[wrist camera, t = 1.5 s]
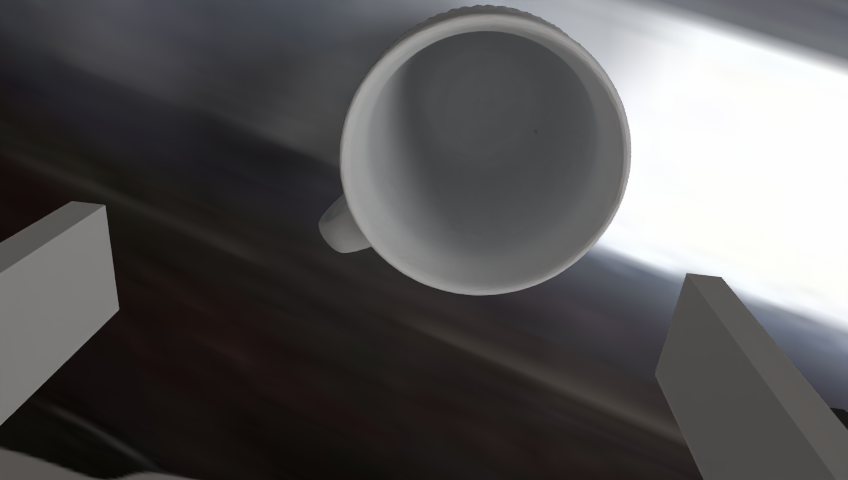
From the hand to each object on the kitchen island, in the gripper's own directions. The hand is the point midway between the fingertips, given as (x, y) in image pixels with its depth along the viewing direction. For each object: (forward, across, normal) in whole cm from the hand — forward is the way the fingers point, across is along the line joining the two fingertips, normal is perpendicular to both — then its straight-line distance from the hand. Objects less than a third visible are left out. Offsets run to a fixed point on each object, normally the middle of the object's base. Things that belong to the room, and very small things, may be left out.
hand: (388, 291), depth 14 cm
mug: (+23, +2, 0) cm, 23 cm away
